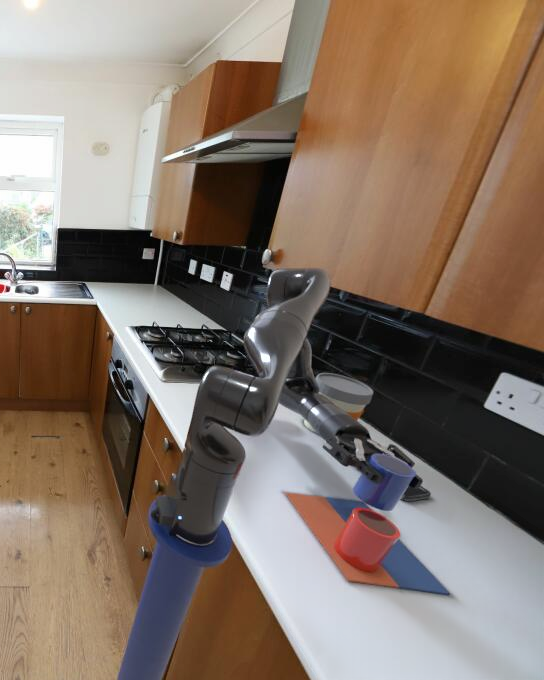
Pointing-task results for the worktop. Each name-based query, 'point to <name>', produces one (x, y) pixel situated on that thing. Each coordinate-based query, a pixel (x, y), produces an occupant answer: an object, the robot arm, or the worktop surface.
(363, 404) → the reusable coffee cup
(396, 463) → the blue beaker
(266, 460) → the worktop surface
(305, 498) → the sorting mat
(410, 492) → the phone
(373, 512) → the red beaker
